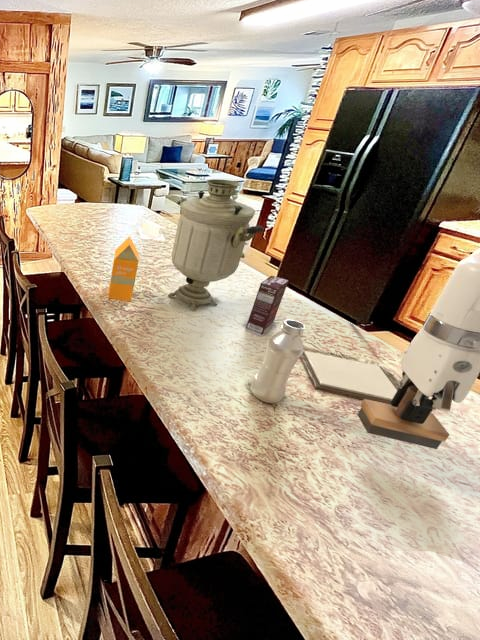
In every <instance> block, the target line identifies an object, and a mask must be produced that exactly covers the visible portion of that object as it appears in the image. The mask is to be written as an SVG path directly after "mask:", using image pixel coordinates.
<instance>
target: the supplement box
mask: <svg viewBox="0 0 480 640" xmlns="http://www.w3.org/2000/svg"><path fill="white" fill-rule="evenodd" d="M288 285H289V280H288V279H285V278H282V277H279V276H275V275H270V276H268V277H267V278H266V279H264V280H263V281H262V282H260V285H259V288H258V290H257V293H256V297H255V299H254V302H253V305H252V308H251V311H250V314H249V316H248V319H247V321H246V322H247V323H246V326H245V329H244V331H246V332H249V333H251V334H253V335H256V336H258V337H263V336H265V334H266V333H267V332H268V331H269V330H270V329H271V328H272V327H273V325H274V322H275V320H276V316H277V314H278V311H279V308H280V305H281V302H282V300H283V297H284V295H285V292H286V290H287V287H288Z"/></svg>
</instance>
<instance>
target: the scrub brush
mask: <svg viewBox="0 0 480 640" xmlns="http://www.w3.org/2000/svg"><path fill="white" fill-rule="evenodd" d="M417 391H418V388H417V387H416V386H409V388H408V389H407V391H406V393H405V394H404V396H403V398H402V399H401V401H400V403H399V404H398V406H397V407H394V406H392V405H391V404H386V403H381V402H376V401H372V400H367V399H364V400H362V401H361V403H360V409H359V411H358V413H357V416H358V417H357V418H359V420H360V422H361V424H362V426H363V428H364V429H365V431H366V433H367V434H370V435H375V436H379V437H382V438H386V439H387V438H388V439H392V440H395V441H400V442H403V443H408V444H412V445H415V446H416V445H417V446H422V447H425V448H429V449H434V450H438V449H439V446H440V445H441V444H442V442H443V443H445V442H446V441H447V439H448V438H449V436H450V433H449V432H448V431H447V429H446V428H445V426H443V425H442V423H441V422H440V420H439V419H438V418H437V417H436V416H435V414H434V413H432V412H431V413H430V414H429V416H428V417H427V419H426V420H425V422H424V423H423V424H419V423H414V422H410V421H405V420H402V419H401V418H400V415H401V413H402V411H403V410H404V408H405V406H406V405H407V403H408V401H413V399H414V397H415V395H416V393H417ZM424 399H430V397H428V396H426V395H425V397H424Z"/></svg>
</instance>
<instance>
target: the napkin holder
mask: <svg viewBox="0 0 480 640" xmlns="http://www.w3.org/2000/svg"><path fill="white" fill-rule="evenodd" d="M137 230H138V233H139V236H140V237H139V238H140V239H143V240H144V239H145V240H155V241H166V239H165V237H164V235H163V232H164V226H162V225H159V224H158V223H156V222H153V221H150V220H143V224H142V228H138V229H137Z"/></svg>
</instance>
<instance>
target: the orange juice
mask: <svg viewBox="0 0 480 640" xmlns="http://www.w3.org/2000/svg"><path fill="white" fill-rule="evenodd" d="M139 254H140V253H139V251H138V249H137V247H136V246H135V244H134V242H133V239H132V238H131V236H130V235H129V236H128V237H127V238H126V239H125V240H124V241H123V242H122V243H121V244H120V245H119V246H118V247H116V249H115V250H114V256H113V263H112V266H111V267H112V268H111V275H110V282H109V287H108V295H107V298H108V299H113V300H117V301H118V300H119V301H125V302H132V299H133V292H134V288H135V283H136V276H137V272H138V267H139V263H140V257H139Z"/></svg>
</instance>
